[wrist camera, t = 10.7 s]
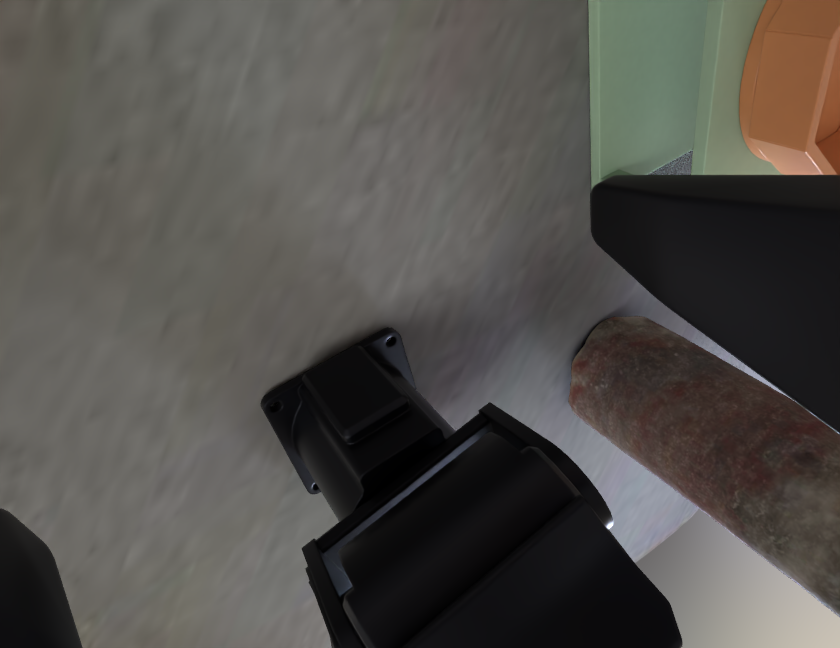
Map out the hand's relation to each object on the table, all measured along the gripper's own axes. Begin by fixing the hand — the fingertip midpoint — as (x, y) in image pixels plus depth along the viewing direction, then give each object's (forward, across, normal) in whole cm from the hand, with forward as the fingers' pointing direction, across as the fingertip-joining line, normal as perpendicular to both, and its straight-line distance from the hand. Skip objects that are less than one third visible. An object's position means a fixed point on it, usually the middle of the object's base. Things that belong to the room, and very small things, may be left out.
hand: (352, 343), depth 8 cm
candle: (+13, -18, +22) cm, 31 cm away
